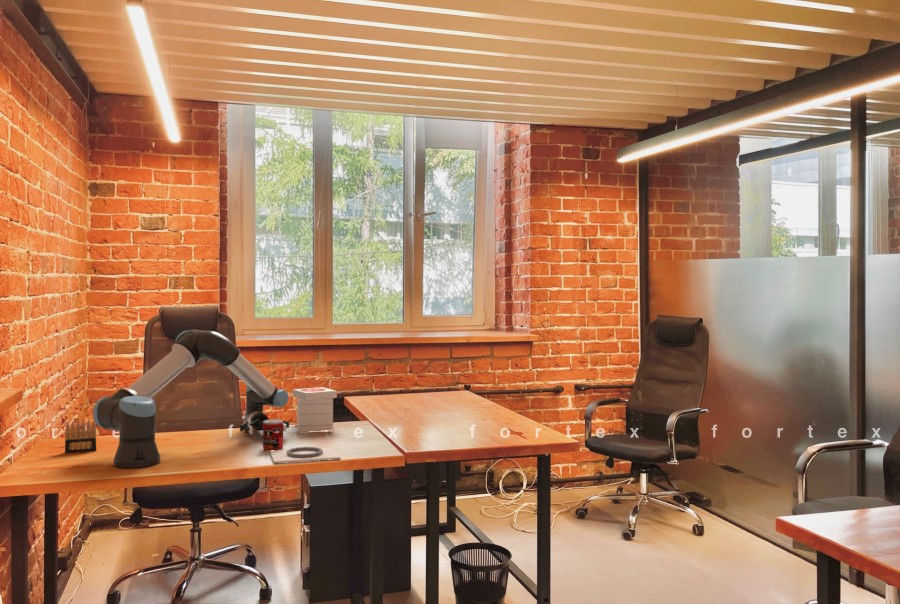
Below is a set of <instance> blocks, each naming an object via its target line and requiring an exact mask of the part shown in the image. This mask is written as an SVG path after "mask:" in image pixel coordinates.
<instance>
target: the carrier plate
mask: <svg viewBox="0 0 900 604" xmlns="http://www.w3.org/2000/svg"><path fill="white" fill-rule="evenodd" d="M269 454H270V457H271V460H272V462H274V463H273V465H276V464H275V463H284V464H291V463H290V462H299V463H311V461H314V462H321V461H320V460H328V459H341V458H342V456H341V455H340V454H339V453H338V452H337V451H336V449H335V448H334V447H333V446H328V447H316V446H315V447H314V446H302V447H301V446H300V447H294V448H290V449H280V450H274V451H269ZM286 462H287V463H286ZM288 462H289V463H288Z"/></svg>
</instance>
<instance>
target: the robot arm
mask: <svg viewBox="0 0 900 604" xmlns="http://www.w3.org/2000/svg"><path fill="white" fill-rule="evenodd" d="M174 341H175V342H174V344H172V346H171V352H169V353H168V354H167V355H165V356H164V357H163V358H162V359H161V360H159V361H158V362H157V363H156V364H155V365H153V366H151V368H150V369H148V371H146V372H145V373H144V374H143V375H141V376H140V377H139V378H137V380H136V381H135V382H133V383H132V384H131V385H129V386H128V387H127V388H124V387H123V388H119V389H118V390H117V391H116V392H115V393H113V394H112V395H110V396H108V395H107V396H104V397H101V398H99V399H98V400H97V401H96V402H95V404H94V406H93V409H92V419H93V420H94V421H95V424H96V426H98V427H99V428H102V429H104V430H108V431H110V430H111V431H115V432H119V442H118V446H117V449H116V451H115V454H114V457H113V466H114V467H116V468H118V467H120V468H119V469H139V467H141V468H146V466H147V467H152V466H156V465H157V464H160V462H161V454H160V452H159V449H158V445H157V443H156V412H157V409H156V402H155V400H154V399H152V398H153V397H154V396H155V395H156V394H157V393H159V392H160V391H161V390H162V389H163V388H164V387H166V386H167V385H169V383H170V382H171V381H173V380H174V379H175V378H176V377H177V376H178V375H180V374H181V373H182V372H183V371H184V370H185V369H186V368H192V367H193V368H194V366H196V365H197V363H199V362H200V361H201V360H208V361H209V360H210V361H212V362H215V363H218V364H219V366H221V367H223V368H227V369H229V370H230V371H231V372H232V373H233V374H234V375H236V376H237V377H238V378H239V380H241V381H242V382H243V383H244V384H246V388H245V389H246V390H245V412H244V414H243V415H244V416H243V417H244V422H243V423H241V424H239V431H240V432H244V433H245V434H246V433H249V434H250V435H254V433H253V432H254V430H255V431H256V432H261V431H262V432H263V421H265V420H270V419H269V417H268V416H267V415H266V414H265V413H264V406H270V407H275V408H283V407H285V406H287V404H288V403H289V402H288V401H289V398H290V397H289V393H288V391H286V390H284V389H279V388H278V387H277V386H276V385H274V383H273V382H272V381H271V380H269V379H268V378H267V377H266V376H265V375H264V374H263V373H261V371H260V370H259V369H258V368H256V367H255V366H254V365H253V364H252V363H251V362H250V361H249V360H248V358H246V357H244V355H242V353H241V349H240V348H239V347H238V346H237V345H236V344H235V343H233V342H232V341H231V340H230V339H229V338H227V337H226V336H225V335H223V334H222V333H219V332H217V331H213V330H202V329H201V330H200V329H199V330H198V329H188V330H184V331H182V332H180V333H179V334H178V335H177V336H176V338H175V340H174ZM289 428H290V421H286V420H283V433H284V432H287V429H289ZM151 465H152V466H151Z"/></svg>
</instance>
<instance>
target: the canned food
mask: <svg viewBox="0 0 900 604" xmlns="http://www.w3.org/2000/svg"><path fill="white" fill-rule="evenodd" d="M283 421H284V420H283V419H278V418H274V419H269V420H265V421H263V430H262V448H263V450H264V451H268V450H278V449H280V450H283V447H284V431H283Z"/></svg>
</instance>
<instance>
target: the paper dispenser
mask: <svg viewBox="0 0 900 604" xmlns="http://www.w3.org/2000/svg"><path fill="white" fill-rule="evenodd" d="M337 392H338V391H337V390H334V389H331V388H328V387H310V388H309V387H307V388H295V389H292V397H295V398H297V401H296V402H297V403H296V404H297V405H296V421H297V430H298V431H299V432H309V431H321V430H331V429H334V423H333V422H334V399H337V398H338V395H337ZM298 431H297V432H298ZM299 432H298V433H299Z"/></svg>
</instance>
